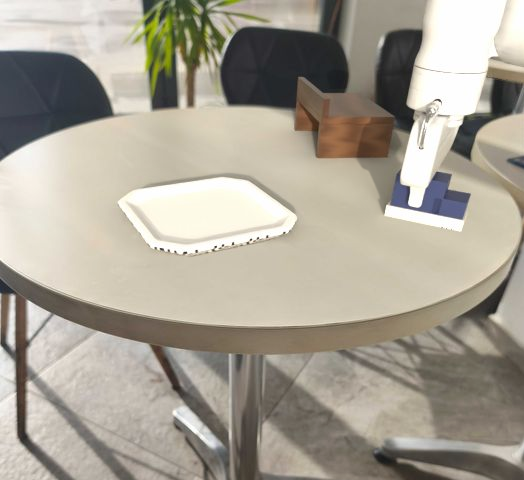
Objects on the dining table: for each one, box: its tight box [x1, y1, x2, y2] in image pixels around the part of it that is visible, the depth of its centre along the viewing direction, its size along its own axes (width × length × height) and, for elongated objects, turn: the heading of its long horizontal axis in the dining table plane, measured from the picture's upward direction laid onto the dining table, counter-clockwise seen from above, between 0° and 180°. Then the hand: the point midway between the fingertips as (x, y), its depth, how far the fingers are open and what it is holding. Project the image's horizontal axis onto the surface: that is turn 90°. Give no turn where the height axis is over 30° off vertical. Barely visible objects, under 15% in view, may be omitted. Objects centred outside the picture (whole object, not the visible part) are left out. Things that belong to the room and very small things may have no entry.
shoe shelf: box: [293, 76, 396, 159], centre depth 99 cm, size 14×20×10 cm
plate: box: [117, 176, 298, 257], centre depth 68 cm, size 21×21×2 cm
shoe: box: [384, 167, 472, 232], centre depth 71 cm, size 11×5×6 cm, turn 65°
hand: (418, 198), depth 72 cm, fingers closed on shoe, 4 cm apart
